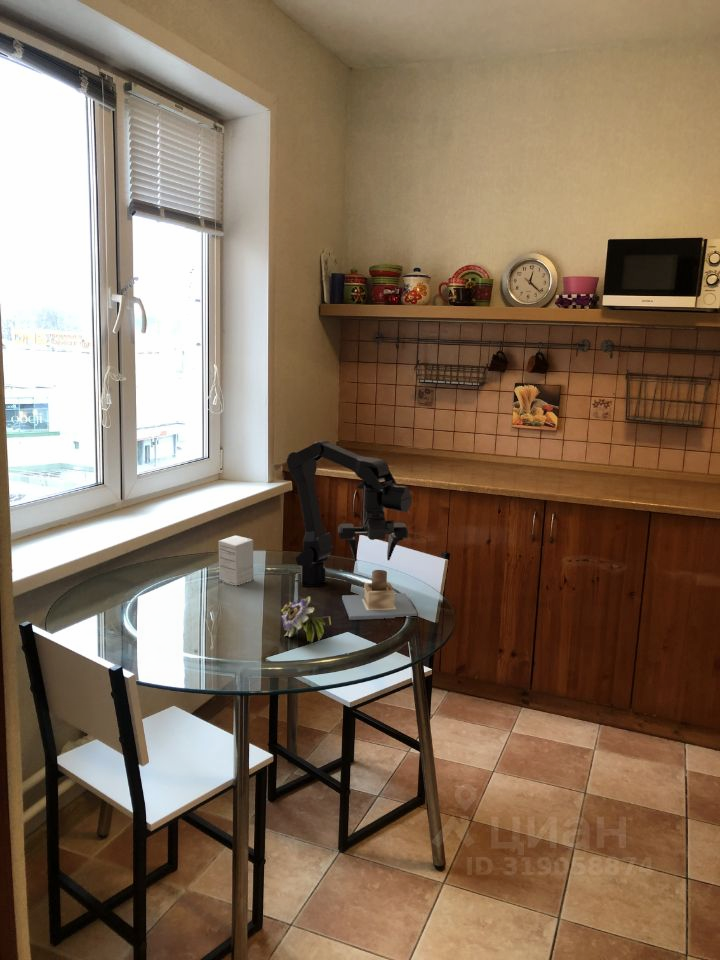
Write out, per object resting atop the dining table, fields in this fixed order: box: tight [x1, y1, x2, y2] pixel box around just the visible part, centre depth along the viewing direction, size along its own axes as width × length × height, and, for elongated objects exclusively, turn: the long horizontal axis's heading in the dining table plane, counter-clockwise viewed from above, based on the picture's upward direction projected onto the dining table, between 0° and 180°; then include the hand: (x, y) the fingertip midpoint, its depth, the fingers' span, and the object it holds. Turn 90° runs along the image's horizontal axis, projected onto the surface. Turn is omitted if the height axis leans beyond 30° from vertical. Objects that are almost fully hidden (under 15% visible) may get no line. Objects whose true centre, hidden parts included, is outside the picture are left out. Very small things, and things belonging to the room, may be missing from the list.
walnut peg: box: [371, 569, 388, 591], centre depth 209 cm, size 4×4×5 cm
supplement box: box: [217, 535, 255, 586], centre depth 227 cm, size 7×7×13 cm
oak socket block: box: [363, 581, 396, 609], centre depth 210 cm, size 7×7×5 cm
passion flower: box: [280, 595, 332, 643], centre depth 191 cm, size 11×11×12 cm
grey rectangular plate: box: [341, 592, 418, 621], centre depth 211 cm, size 18×15×1 cm
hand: (372, 560), depth 215 cm, fingers open, 9 cm apart
